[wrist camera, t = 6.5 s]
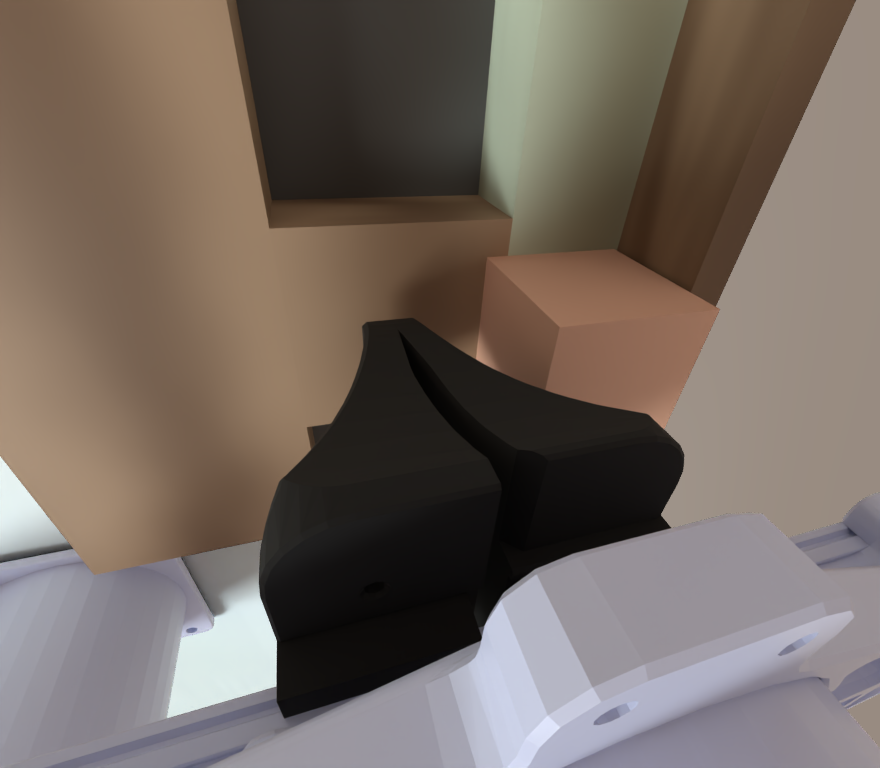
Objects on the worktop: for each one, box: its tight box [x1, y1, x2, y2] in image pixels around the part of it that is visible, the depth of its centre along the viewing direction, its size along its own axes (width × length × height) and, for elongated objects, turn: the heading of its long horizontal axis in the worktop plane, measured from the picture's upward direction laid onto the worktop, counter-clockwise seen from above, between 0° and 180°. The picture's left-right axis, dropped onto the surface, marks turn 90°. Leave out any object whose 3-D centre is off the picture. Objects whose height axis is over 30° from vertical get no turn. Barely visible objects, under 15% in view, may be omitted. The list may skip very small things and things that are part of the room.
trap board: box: [0, 0, 856, 575], centre depth 12 cm, size 18×16×6 cm
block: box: [476, 249, 720, 429], centre depth 12 cm, size 4×4×4 cm
